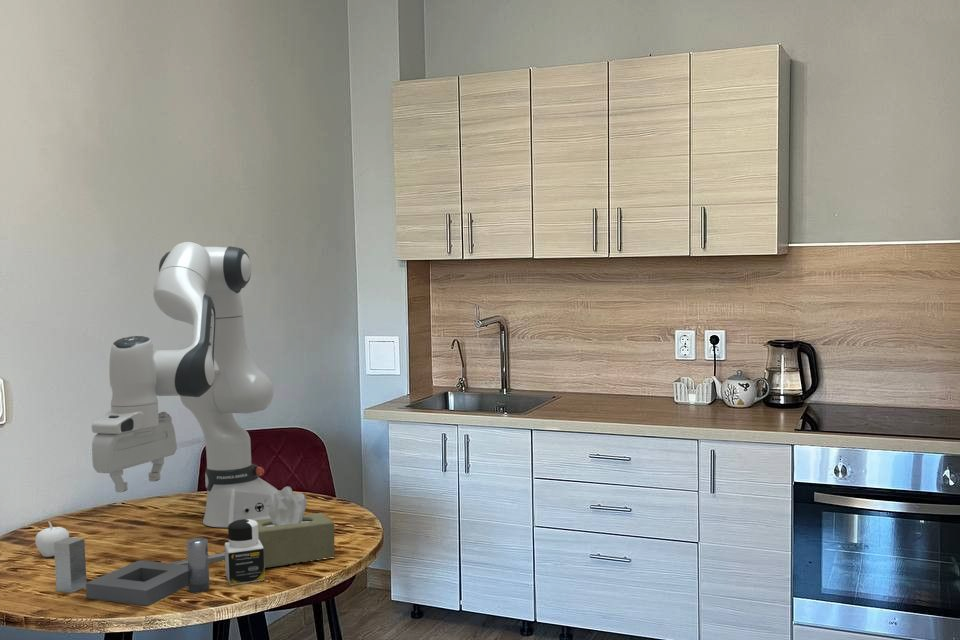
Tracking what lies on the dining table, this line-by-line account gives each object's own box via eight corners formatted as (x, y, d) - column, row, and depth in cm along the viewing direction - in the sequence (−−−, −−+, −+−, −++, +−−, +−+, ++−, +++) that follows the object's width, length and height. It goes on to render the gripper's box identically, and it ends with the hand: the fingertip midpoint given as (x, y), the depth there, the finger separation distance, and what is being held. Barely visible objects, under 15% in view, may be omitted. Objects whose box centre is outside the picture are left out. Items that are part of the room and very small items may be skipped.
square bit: (71, 584, 187) (69, 537, 187) (86, 586, 186) (84, 538, 185) (56, 591, 184) (53, 542, 183) (71, 593, 182) (69, 544, 182)
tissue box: (323, 546, 209) (323, 478, 208) (336, 558, 200) (335, 487, 199) (241, 557, 201) (239, 487, 200) (250, 570, 192) (248, 496, 191)
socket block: (139, 573, 193) (139, 560, 193) (197, 580, 188) (197, 566, 187) (86, 598, 179) (85, 583, 179) (147, 606, 174) (146, 590, 173)
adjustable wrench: (156, 575, 193) (156, 567, 193) (153, 567, 199) (152, 559, 199) (273, 556, 204) (273, 548, 204) (267, 548, 210) (266, 541, 210)
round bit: (207, 584, 185) (205, 536, 184) (211, 590, 181) (209, 541, 181) (187, 588, 183) (185, 539, 183) (190, 594, 180) (188, 544, 179)
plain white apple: (28, 558, 206) (27, 523, 206) (53, 549, 213) (52, 515, 213) (52, 560, 204) (50, 525, 204) (76, 551, 211) (75, 517, 210)
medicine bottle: (229, 586, 184) (227, 527, 183) (225, 575, 190) (223, 519, 190) (265, 580, 186) (263, 523, 186) (260, 570, 193) (258, 515, 192)
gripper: (158, 409, 192) (161, 474, 193) (84, 425, 173) (88, 497, 174) (182, 410, 190) (185, 475, 191) (110, 426, 171) (114, 499, 172)
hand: (138, 486), depth 182 cm, fingers open, 8 cm apart
